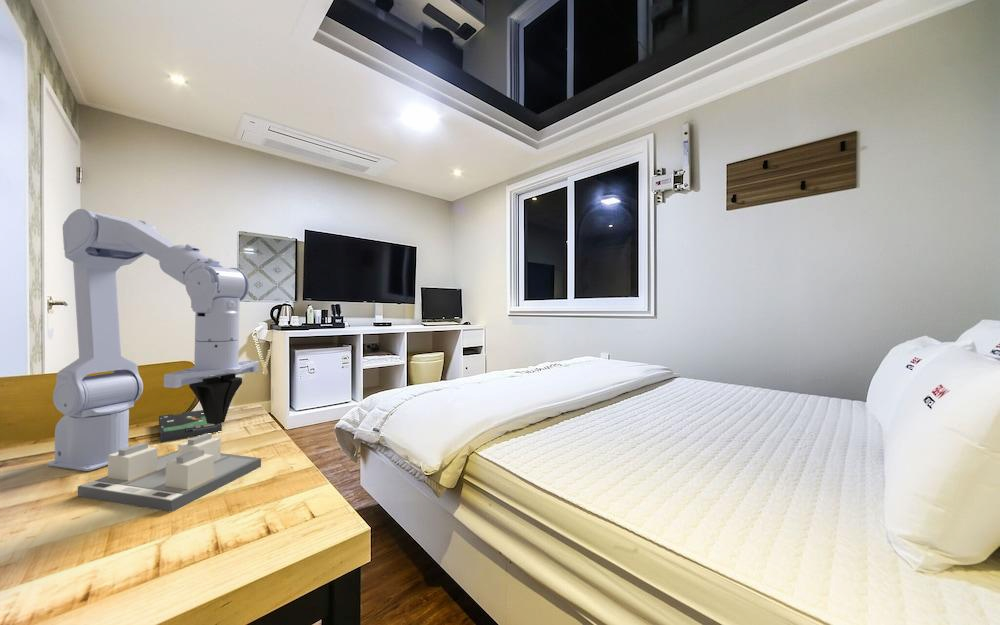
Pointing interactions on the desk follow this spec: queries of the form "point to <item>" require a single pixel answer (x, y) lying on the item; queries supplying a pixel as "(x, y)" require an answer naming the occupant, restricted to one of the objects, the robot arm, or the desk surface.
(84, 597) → the desk surface
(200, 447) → the tab
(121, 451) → the tab
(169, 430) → the disk drive
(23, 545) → the desk surface
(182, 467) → the tab
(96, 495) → the switch panel
